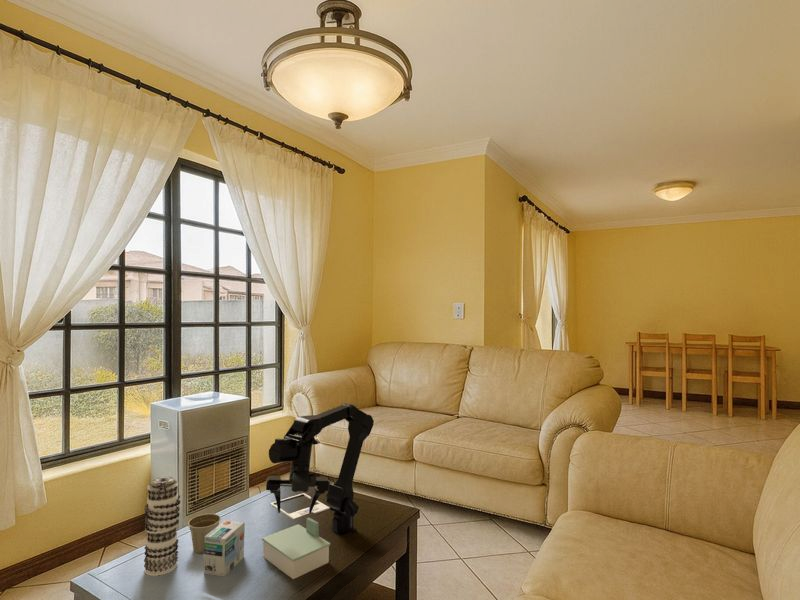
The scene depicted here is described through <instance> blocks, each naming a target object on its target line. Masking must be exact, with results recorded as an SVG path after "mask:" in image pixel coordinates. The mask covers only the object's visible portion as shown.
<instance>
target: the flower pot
mask: <svg viewBox="0 0 800 600" xmlns="http://www.w3.org/2000/svg"><path fill="white" fill-rule="evenodd" d="M221 517H222V516H220V515H219V514H216V513H204V514H199V515H196V516H194V517H192V518H190V519H189V520H188V521H187V525H188V528H189V530H190V536H191V541H192V550H193V552H194V553H198V554H203V553H204V544H205V536H206V535H207V534H209V533H210V532H211V531H212V530H214V529H215V528H216V527H218V526H219V525H220V522H221V520H222V518H221Z"/></svg>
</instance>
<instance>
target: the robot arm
mask: <svg viewBox="0 0 800 600" xmlns="http://www.w3.org/2000/svg"><path fill="white" fill-rule="evenodd" d="M373 418H374V417H372V415H370V414H367V413H366V412H364V411H362V410H361V409H359V408H357V406H355V405H354V404H352V403H341V404H340V405H338V406H336V407H333V408H331V409H328V410H326V411H323V412H320V413H319V414H314V415H308V414H307V415H302V416H297V417H296V418H295V419H294V421H293V422H292V425H291V426H290V427H289V429H288V430H287V432H286V433H285V434H284V436H283V438H275V439H274V443H272V444H271V445H270V448H269V449H268V457H269V461H270V462H271V464H282V463H289V462H290V469H289V478H288V479H282V478H281V475H268V476H267V477H266V480H265V490H266V491H269V492H270V493H271V494H274V497H275V502H277V503H276V506H277V508H278V509H277V513H278V514H280V513H281V511H280V508H281V501H280V500H281V493H282V492H281V487H291V491H292V492H294V493H297V492H303V493H306V492H309V490H310V489H309V488H312V492H311V496H310V497H311V499H310V502H309V513H308V514H311V513H312V512H311V511H312V509H313V507H314V505H316V504H317V503H316V501H318V498H320V496H321V495H323V494H324V495H325V493H326V492H327V494H326V495H325V497H326V504H327V506H328V507H329V508H330V509H329V510H330V512H333V517H332V527H331V528H330V530H331V531H333V532H334V533H335V534H339V535H340V536H344V535H346V534H349V533H350V534H351V533H354V532H356V531H357V528H356V527H355V526H354V524H355V523H354V520H355V519H354V517H355V515H357V514H358V511H359V508H360V506H359V505H358V504H357V503H356V502H354V501H353V500H354V488H353V481H354V478H355V475H356V471H357V466H358V462H359V458H360V455H361V451H362V447H363V444H364V441H365V440H366V439H367V438H368V436H370V435H371V432H372V430H373V427H374V422H375V421H374V419H373ZM343 420H344V421H346V422H348V424H347V425H348V426H347V431H348V435H349V439H348V442H347V446H346V450H345V453H344V455H343V456H344V457H343V460H342V464H341V468H340V470H339V474H338V478H337V480H336V481H335V482H334V483H333V484H332V483H330V480H329V479H328V477H327V476H317V473H310V466H311V458H312V451H313V445H318V444H319V442H318V440H317V439H316V438H315V437H316V436H318V435H319V434H321V432H322V431H323V429H325V428H327V427H329V426H332V425H333V424H336V423H338V422H341V421H343Z"/></svg>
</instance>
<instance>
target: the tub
mask: <svg viewBox="0 0 800 600" xmlns="http://www.w3.org/2000/svg"><path fill="white" fill-rule="evenodd" d="M262 543H263V550H262V551H263V552H262V555H263V556H262V557H263V558H265V560H267V561H268V562H270V563H271V564H272V565H273V566H275V567H276V568H278V569H279V570H280V571H281V572H283V573H284V574H286V576H288V577H289V578H290V579H292V580H294V579H297V578H299V577H301V576H303V575H306V574H307V573H309V572H312V571H315V570H316V569H318V568H320V567H323V566H325V565H326V564H329V559H330V550H329V549H330V546H328V547H325V548H323V549H321V550H319V551H316V552H314V553H312V554H310V555H308V556H305V557H303V558H301V559H299V560H296V561H294V562H293V561H291V560H290V559H288V558H287V557H285V556H284V555H283V554H281V553H280V552H278V551H277V550H276V549H274V548H273V547H271V546H270V545H268V544H267V543H266V542H264V541H262Z"/></svg>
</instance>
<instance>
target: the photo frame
mask: <svg viewBox="0 0 800 600" xmlns="http://www.w3.org/2000/svg"><path fill="white" fill-rule="evenodd" d="M303 495H304V497H305V498H307V499H309V500H311V496H310V495H308V494H307V493H306V492H303V493H299V494H296V495H293V496H289V497H286V498H284V499H280V502H283V501H286V500H290V499H294V498H297V497H299V496H300V497H301V496H303ZM269 504H270V506H272V507H273V508H275V509H276V510H278V508H277V502H276V501H274V502H270V503H269ZM328 510H330V508H329V506H328V505H326V504H324V503H323V502H321V501H319V500H317V501H316V503H315V505H314V507H313V509H312V511H311V513H314V514H315V515H317V514H319V513H322V512H325V511H328ZM280 513H282V514H284V515H286V516H287V517H289V518H290V519H291V520H294V519H297V518H300V517H302V516H305V515H307V514H310V513H309V507H305V508H303V509H300V510H299V509H298V510H297V511H293V512H291V513H288V512H287V511H285V510H284V509H282V508H281V507H280Z"/></svg>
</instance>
